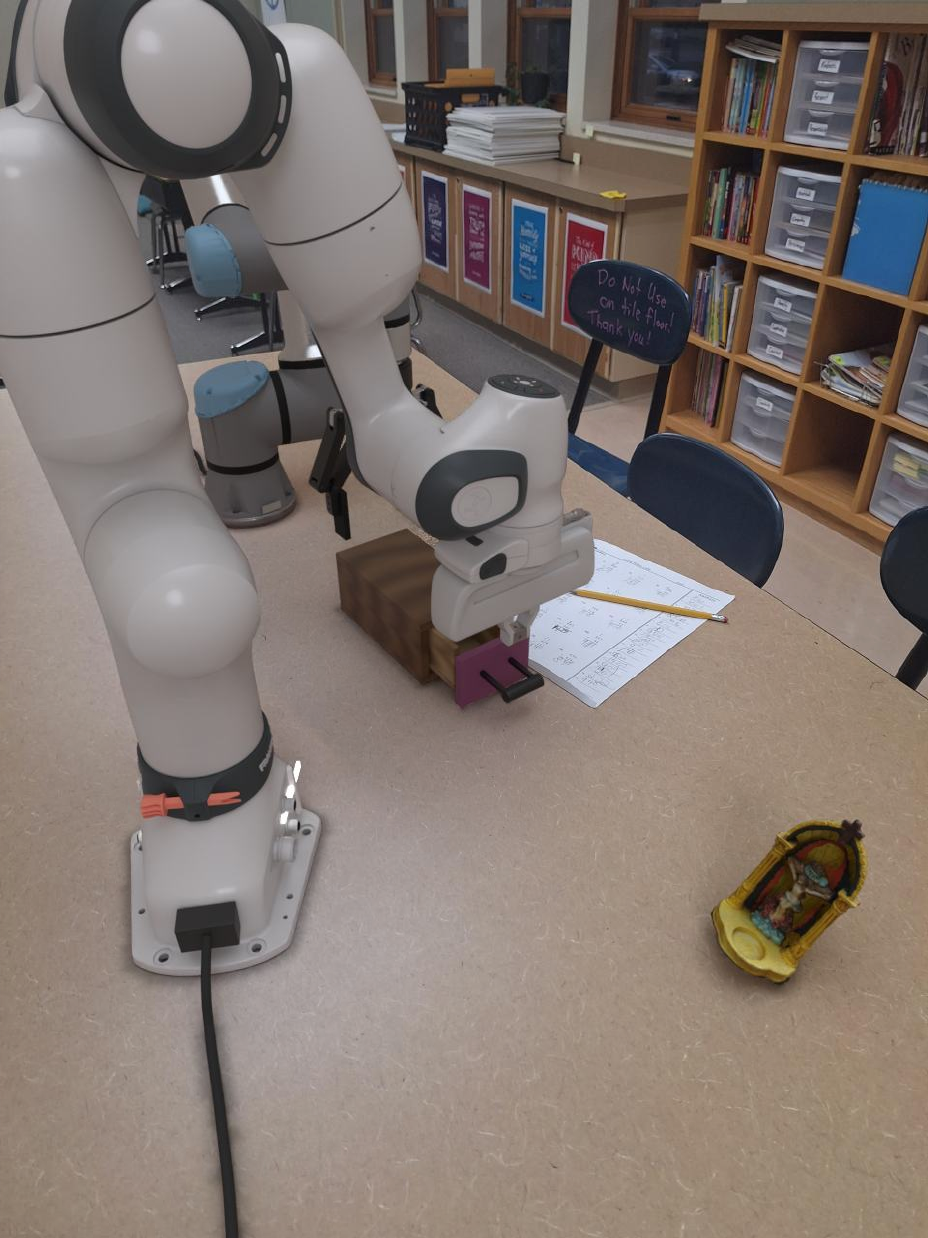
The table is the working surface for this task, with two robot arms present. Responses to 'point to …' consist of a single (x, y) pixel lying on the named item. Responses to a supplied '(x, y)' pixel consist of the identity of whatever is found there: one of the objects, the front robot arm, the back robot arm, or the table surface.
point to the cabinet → (392, 595)
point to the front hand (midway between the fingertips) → (514, 639)
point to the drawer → (482, 666)
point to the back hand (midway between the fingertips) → (388, 520)
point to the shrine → (792, 897)
